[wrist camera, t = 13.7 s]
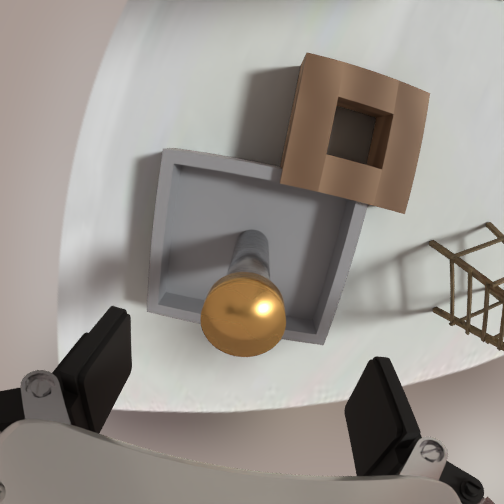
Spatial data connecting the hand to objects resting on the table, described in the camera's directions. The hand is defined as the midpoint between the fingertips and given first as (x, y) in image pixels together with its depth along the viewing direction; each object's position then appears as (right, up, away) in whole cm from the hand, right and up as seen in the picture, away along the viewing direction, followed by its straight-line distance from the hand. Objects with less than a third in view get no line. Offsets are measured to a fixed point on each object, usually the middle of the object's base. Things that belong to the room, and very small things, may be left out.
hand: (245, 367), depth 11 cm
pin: (0, +5, +16) cm, 17 cm away
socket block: (+8, +14, +13) cm, 21 cm away
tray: (0, +5, +17) cm, 17 cm away
